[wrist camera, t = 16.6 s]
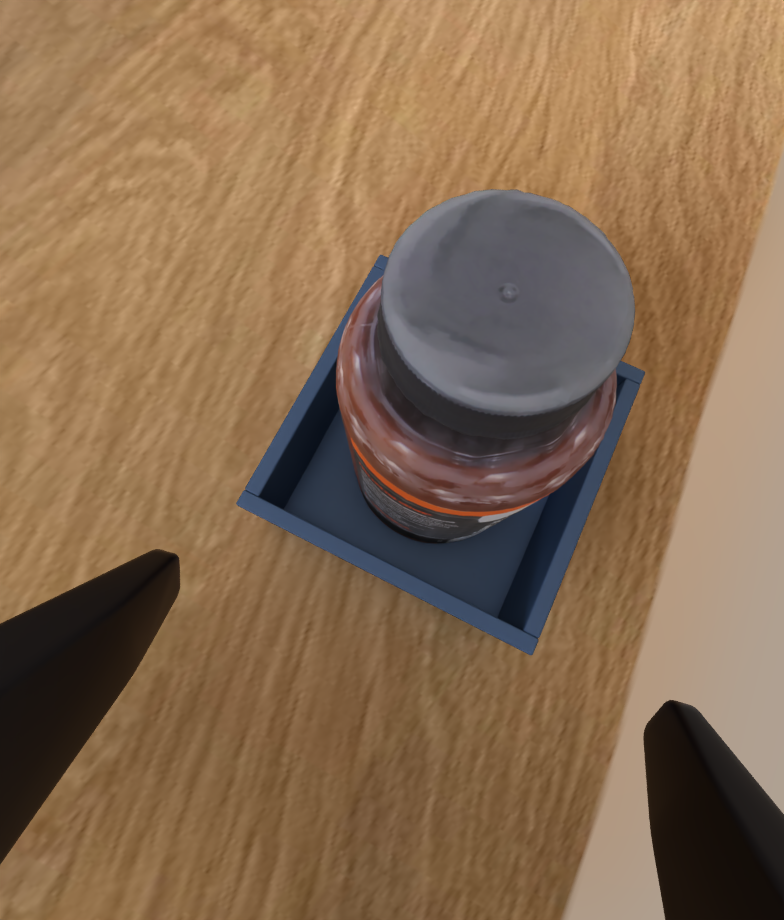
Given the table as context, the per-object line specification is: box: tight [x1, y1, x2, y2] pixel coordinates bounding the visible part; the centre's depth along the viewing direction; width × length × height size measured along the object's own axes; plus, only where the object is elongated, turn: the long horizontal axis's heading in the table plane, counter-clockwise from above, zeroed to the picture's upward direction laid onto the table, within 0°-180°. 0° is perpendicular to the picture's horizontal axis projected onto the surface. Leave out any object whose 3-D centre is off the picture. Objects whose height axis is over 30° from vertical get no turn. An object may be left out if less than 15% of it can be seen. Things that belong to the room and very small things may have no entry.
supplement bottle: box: [336, 189, 635, 543], centre depth 13 cm, size 6×6×11 cm
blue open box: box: [236, 255, 645, 655], centre depth 17 cm, size 10×10×4 cm
